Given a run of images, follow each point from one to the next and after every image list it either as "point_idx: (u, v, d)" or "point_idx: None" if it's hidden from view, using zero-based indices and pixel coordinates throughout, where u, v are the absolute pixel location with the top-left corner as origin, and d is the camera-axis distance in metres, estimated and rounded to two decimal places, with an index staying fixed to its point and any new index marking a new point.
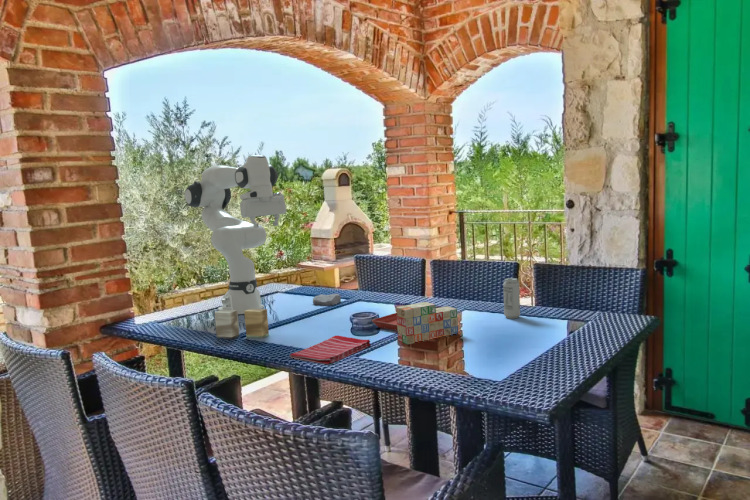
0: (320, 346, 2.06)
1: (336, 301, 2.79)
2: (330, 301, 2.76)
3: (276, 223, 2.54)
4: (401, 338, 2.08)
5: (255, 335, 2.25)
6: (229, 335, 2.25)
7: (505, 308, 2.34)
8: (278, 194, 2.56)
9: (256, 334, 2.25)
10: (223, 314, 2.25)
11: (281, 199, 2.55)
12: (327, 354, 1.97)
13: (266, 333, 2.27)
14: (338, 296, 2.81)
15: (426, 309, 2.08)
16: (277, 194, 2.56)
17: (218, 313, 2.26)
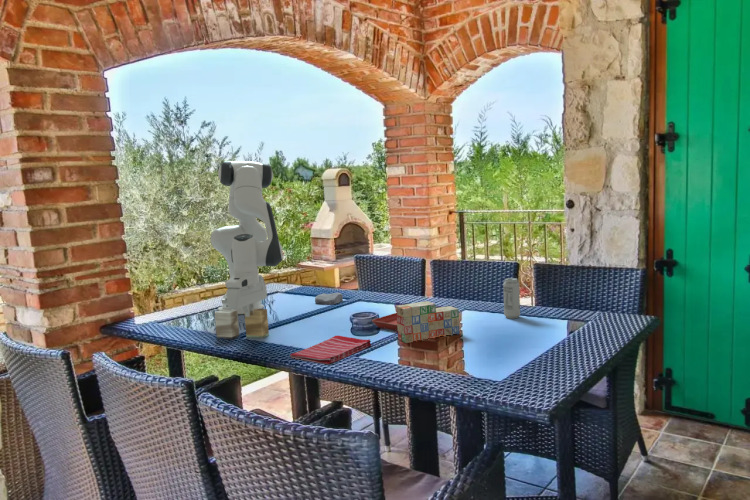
0: (320, 346, 2.06)
1: (338, 300, 2.81)
2: (332, 300, 2.78)
3: (252, 313, 2.24)
4: (400, 336, 2.10)
5: (255, 335, 2.25)
6: (229, 335, 2.25)
7: (505, 308, 2.34)
8: (259, 277, 2.29)
9: (256, 334, 2.25)
10: (223, 314, 2.25)
11: (263, 283, 2.28)
12: (327, 354, 1.97)
13: (266, 333, 2.27)
14: (340, 295, 2.84)
15: (425, 308, 2.09)
16: (259, 277, 2.28)
17: (218, 313, 2.26)
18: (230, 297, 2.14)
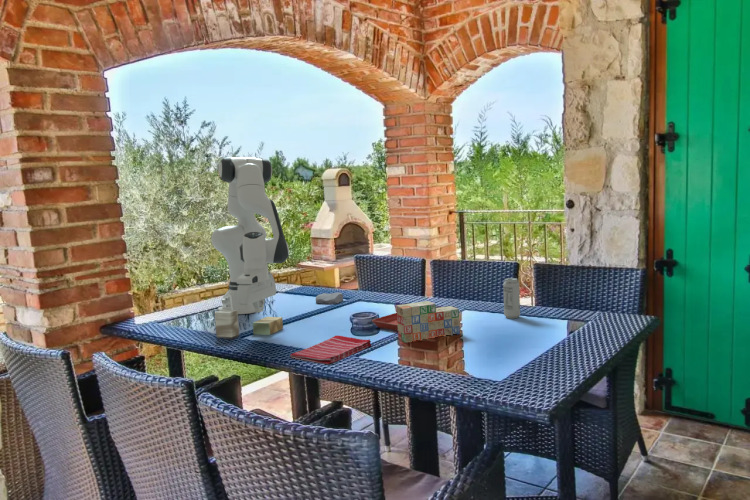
0: (321, 346, 2.06)
1: (339, 300, 2.82)
2: (333, 300, 2.79)
3: (262, 309, 2.29)
4: (400, 336, 2.11)
5: (263, 322, 2.30)
6: (229, 335, 2.25)
7: (505, 308, 2.34)
8: (269, 274, 2.34)
9: (264, 322, 2.30)
10: (223, 314, 2.25)
11: (272, 280, 2.34)
12: (327, 354, 1.97)
13: (270, 330, 2.29)
14: (341, 295, 2.84)
15: (425, 308, 2.09)
16: (268, 274, 2.34)
17: (218, 313, 2.26)
18: (241, 293, 2.19)
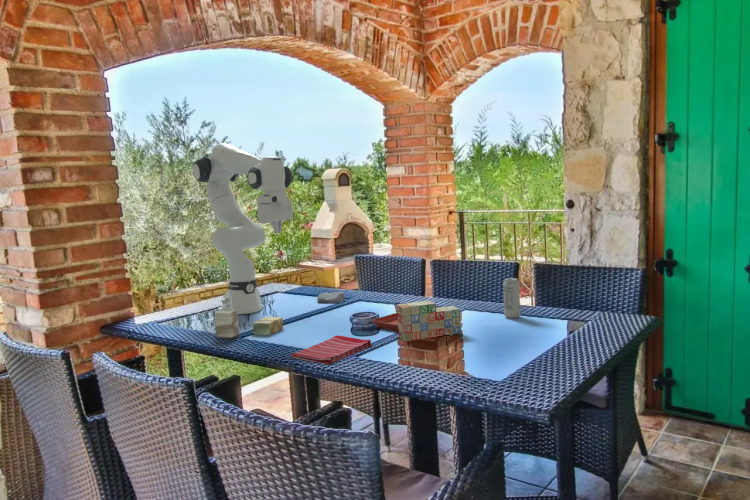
0: (321, 346, 2.06)
1: (340, 299, 2.84)
2: (335, 299, 2.81)
3: (280, 230, 2.38)
4: (400, 335, 2.13)
5: (263, 322, 2.30)
6: (229, 335, 2.25)
7: (505, 308, 2.34)
8: (286, 198, 2.44)
9: (264, 322, 2.30)
10: (223, 314, 2.25)
11: (290, 204, 2.43)
12: (327, 354, 1.97)
13: (270, 330, 2.29)
14: (342, 294, 2.86)
15: (425, 307, 2.10)
16: None
17: (218, 313, 2.26)
18: (261, 212, 2.29)
